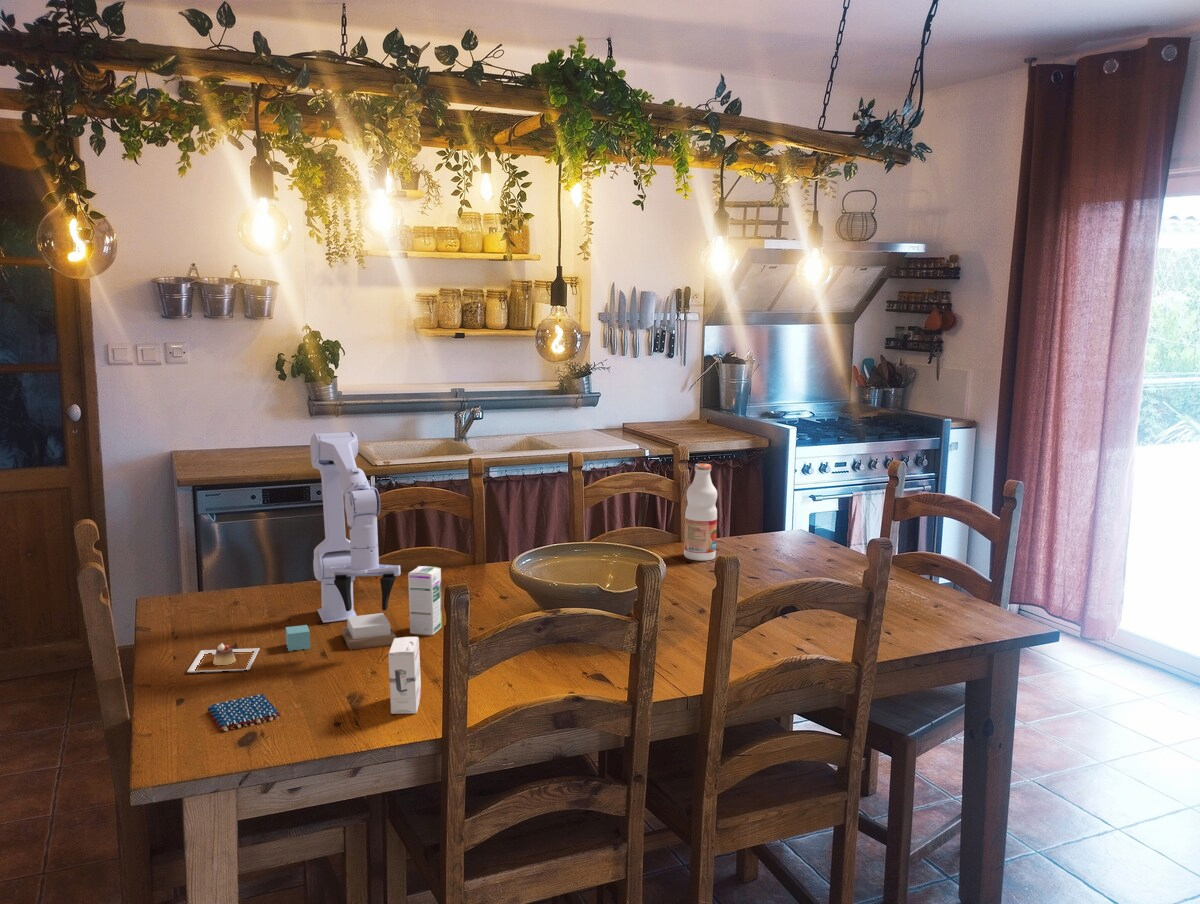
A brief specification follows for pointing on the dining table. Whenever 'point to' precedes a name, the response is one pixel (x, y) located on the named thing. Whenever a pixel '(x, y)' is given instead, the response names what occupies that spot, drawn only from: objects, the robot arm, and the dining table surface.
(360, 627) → the white slab
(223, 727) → the woven mat
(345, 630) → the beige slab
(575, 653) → the dining table surface
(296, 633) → the teal cube
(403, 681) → the ink box
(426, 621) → the syrup box
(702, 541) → the fruit juice
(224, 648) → the dessert
